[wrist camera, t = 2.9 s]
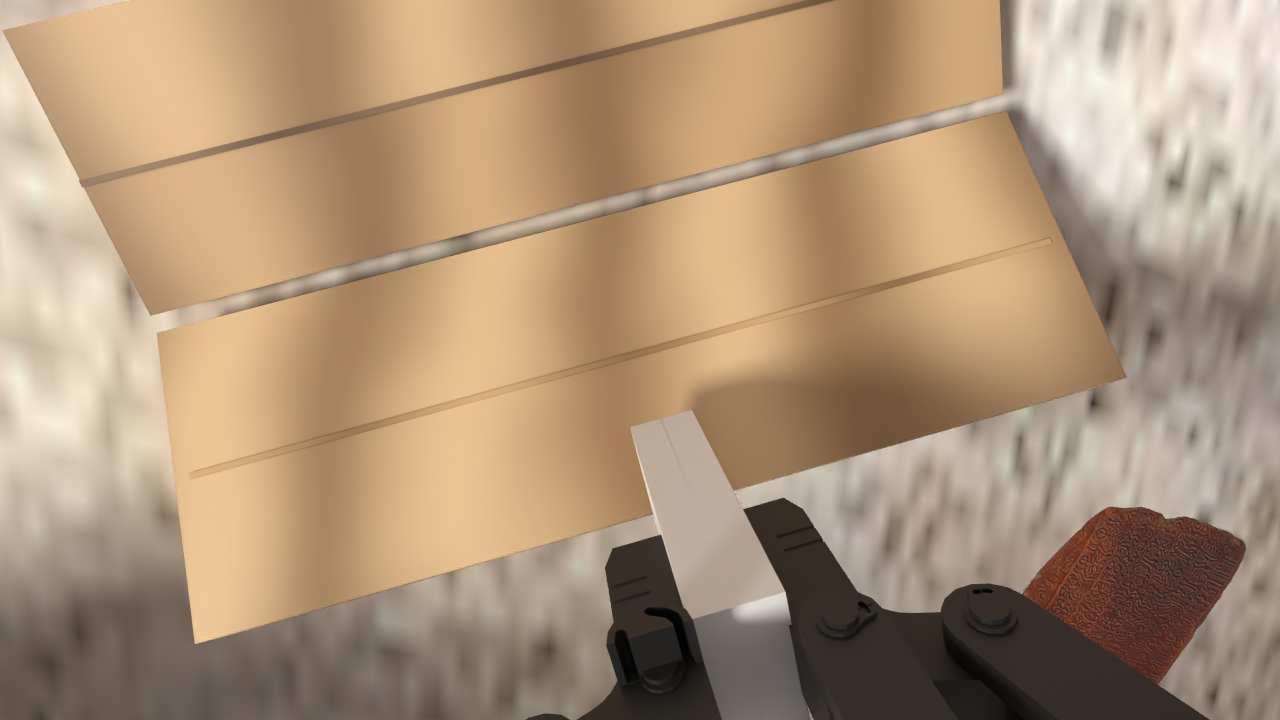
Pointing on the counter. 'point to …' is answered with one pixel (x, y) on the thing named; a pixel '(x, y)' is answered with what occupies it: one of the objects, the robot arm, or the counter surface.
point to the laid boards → (451, 112)
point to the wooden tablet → (1138, 583)
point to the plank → (615, 368)
